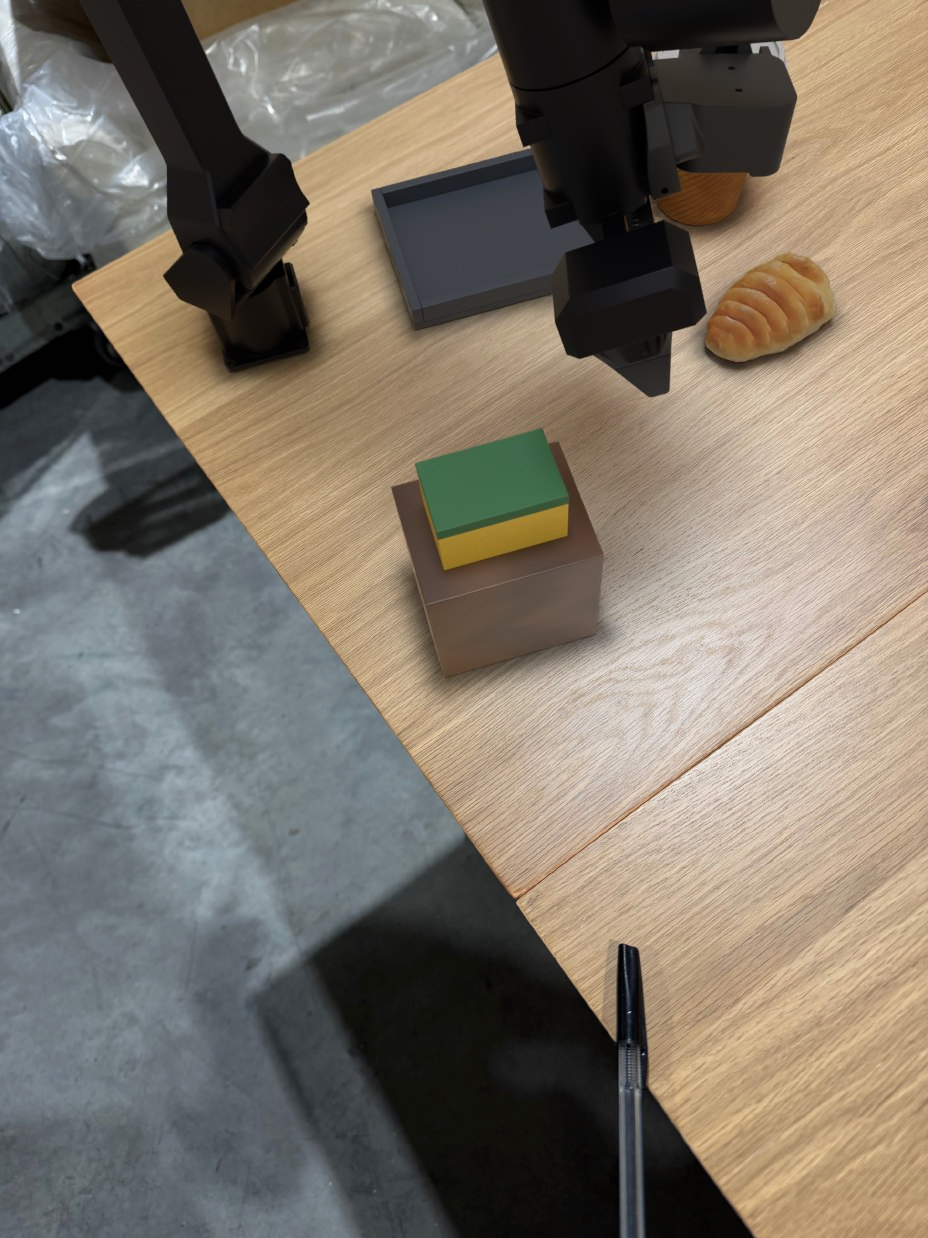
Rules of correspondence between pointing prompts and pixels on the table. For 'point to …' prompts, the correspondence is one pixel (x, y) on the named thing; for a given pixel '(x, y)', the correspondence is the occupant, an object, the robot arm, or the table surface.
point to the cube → (505, 587)
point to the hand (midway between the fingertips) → (649, 336)
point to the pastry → (771, 309)
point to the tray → (472, 238)
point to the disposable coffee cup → (708, 176)
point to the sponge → (494, 498)
